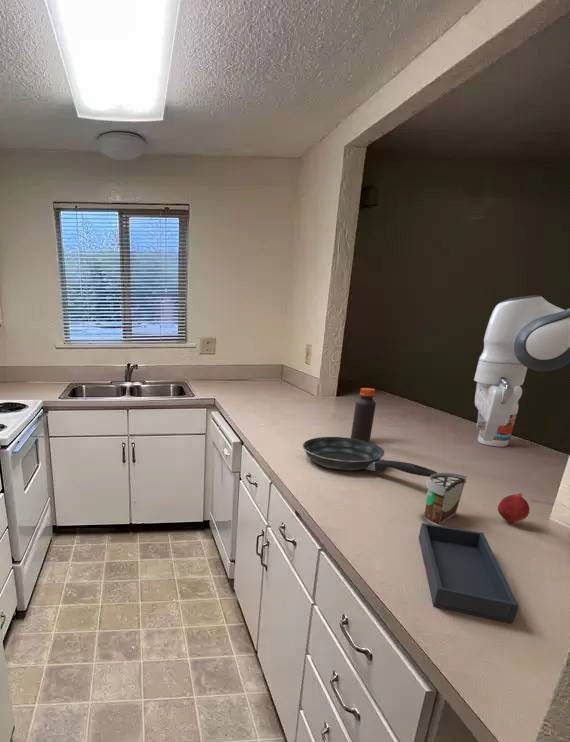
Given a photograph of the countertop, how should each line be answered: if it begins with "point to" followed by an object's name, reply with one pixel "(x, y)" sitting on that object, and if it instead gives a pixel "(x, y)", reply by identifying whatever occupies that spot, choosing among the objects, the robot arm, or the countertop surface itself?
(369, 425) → the bottle
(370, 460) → the frying pan
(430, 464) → the countertop surface
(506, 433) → the fruit juice
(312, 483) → the countertop surface
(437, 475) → the food container
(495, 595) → the dark blue tray
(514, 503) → the onion
